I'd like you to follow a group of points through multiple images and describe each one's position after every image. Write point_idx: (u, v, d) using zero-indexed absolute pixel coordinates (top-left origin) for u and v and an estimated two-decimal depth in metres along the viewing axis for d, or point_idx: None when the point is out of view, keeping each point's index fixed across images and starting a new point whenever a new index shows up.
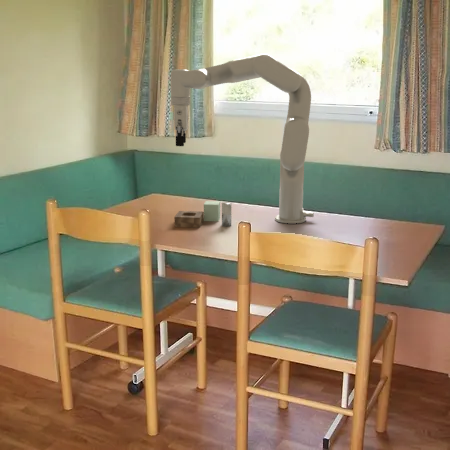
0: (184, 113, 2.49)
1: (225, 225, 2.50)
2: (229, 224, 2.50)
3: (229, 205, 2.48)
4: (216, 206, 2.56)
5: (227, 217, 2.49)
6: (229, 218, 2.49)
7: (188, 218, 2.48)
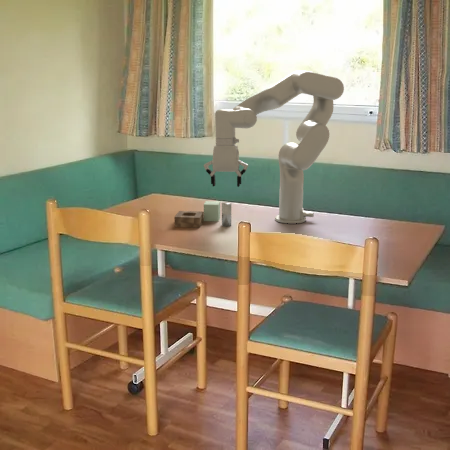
0: None
1: (225, 225, 2.50)
2: (229, 224, 2.50)
3: (229, 205, 2.48)
4: (216, 206, 2.56)
5: (227, 217, 2.49)
6: (229, 218, 2.49)
7: (188, 218, 2.48)
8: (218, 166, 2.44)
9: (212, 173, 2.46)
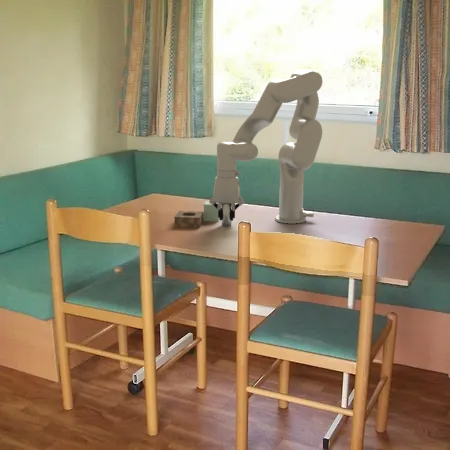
0: None
1: (225, 225, 2.50)
2: (229, 224, 2.50)
3: (229, 205, 2.48)
4: None
5: (227, 217, 2.49)
6: (229, 218, 2.49)
7: (188, 218, 2.48)
8: (219, 197, 2.47)
9: (219, 207, 2.49)
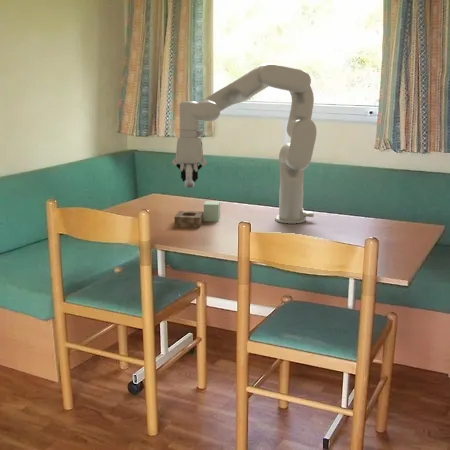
0: None
1: (188, 186, 2.48)
2: (192, 185, 2.48)
3: (192, 165, 2.46)
4: (216, 206, 2.56)
5: (190, 177, 2.47)
6: (191, 178, 2.47)
7: (188, 218, 2.48)
8: (181, 158, 2.45)
9: (182, 168, 2.47)
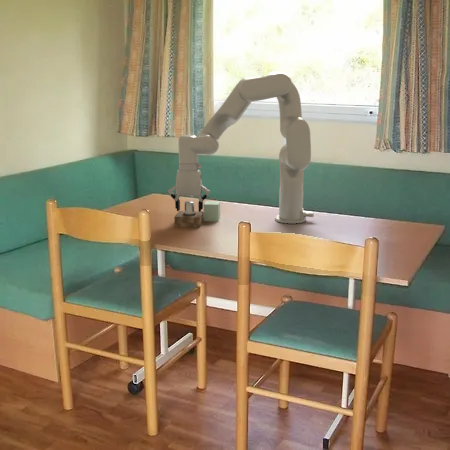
0: (201, 177, 2.50)
1: None
2: None
3: (192, 204, 2.50)
4: (216, 206, 2.56)
5: (190, 215, 2.51)
6: None
7: (188, 218, 2.48)
8: (181, 190, 2.48)
9: (176, 198, 2.50)
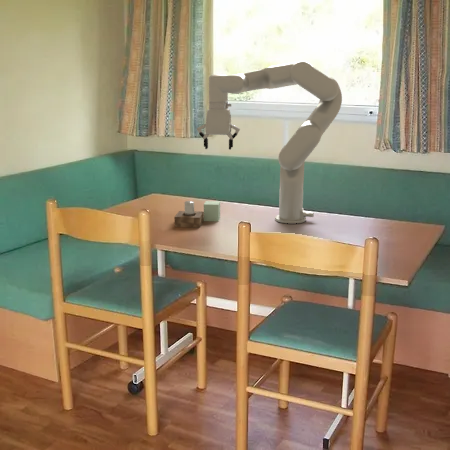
0: None
1: None
2: None
3: (192, 204, 2.50)
4: (216, 206, 2.56)
5: (190, 215, 2.51)
6: None
7: (188, 218, 2.48)
8: (211, 129, 2.54)
9: (205, 136, 2.56)
